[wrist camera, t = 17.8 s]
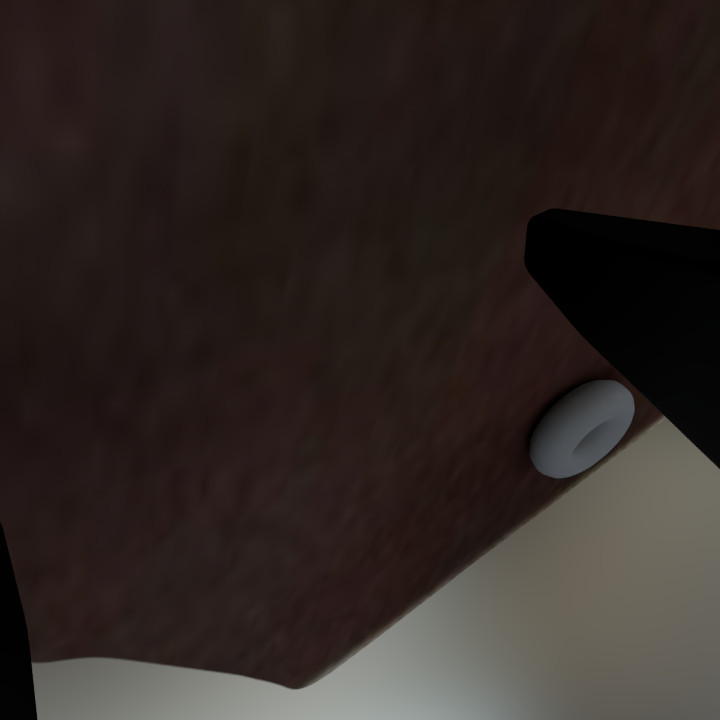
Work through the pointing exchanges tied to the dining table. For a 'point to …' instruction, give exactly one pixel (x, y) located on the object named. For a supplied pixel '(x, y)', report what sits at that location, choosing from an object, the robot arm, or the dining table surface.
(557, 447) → the donut
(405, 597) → the dining table surface
